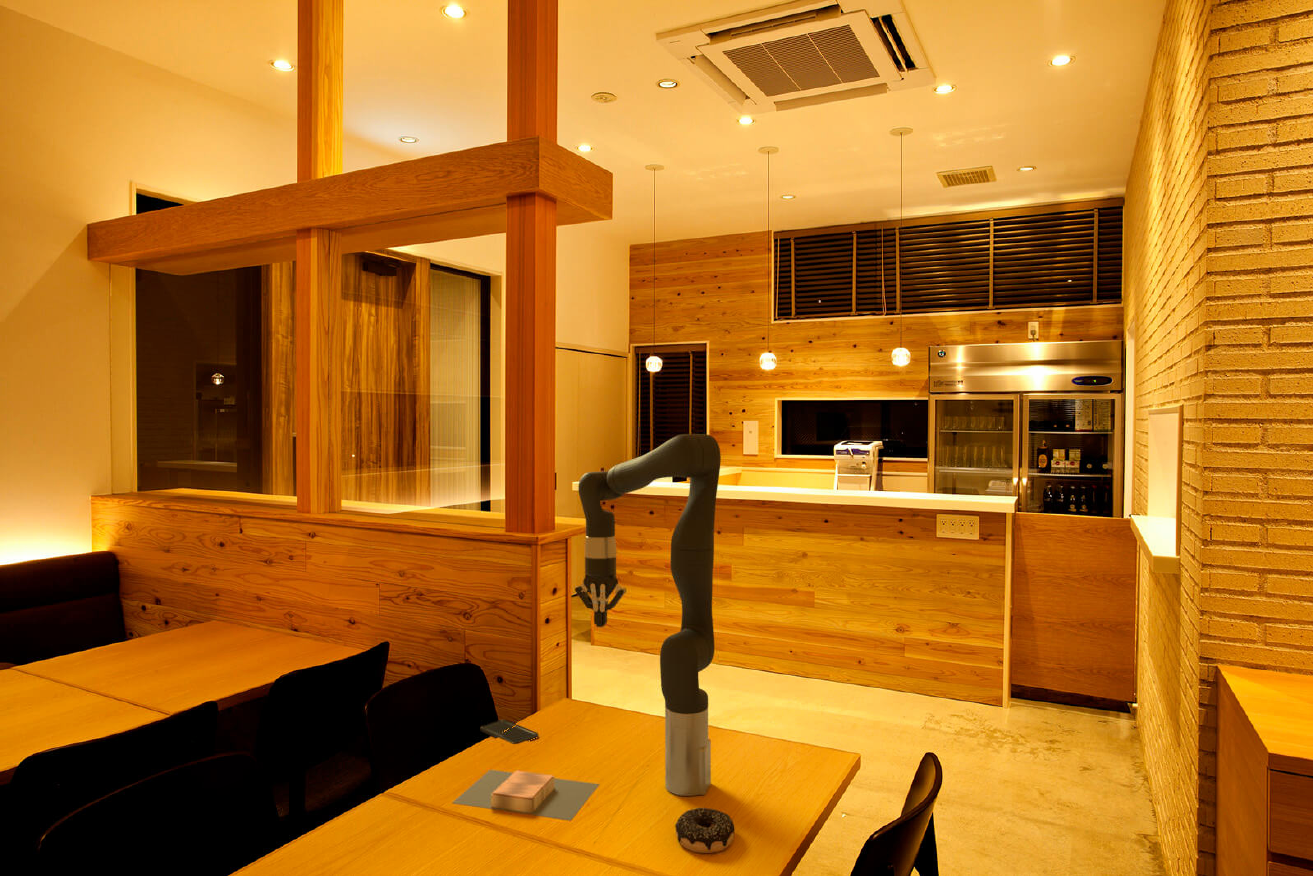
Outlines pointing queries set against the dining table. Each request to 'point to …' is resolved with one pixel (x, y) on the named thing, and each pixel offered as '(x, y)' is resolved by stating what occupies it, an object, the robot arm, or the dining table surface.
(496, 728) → the phone
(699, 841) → the donut
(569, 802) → the mat
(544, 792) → the tan wooden block
